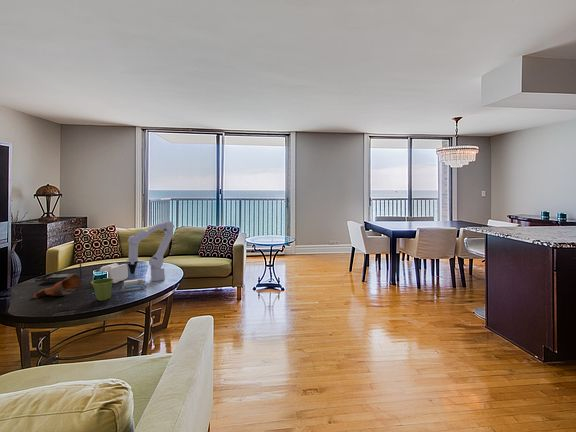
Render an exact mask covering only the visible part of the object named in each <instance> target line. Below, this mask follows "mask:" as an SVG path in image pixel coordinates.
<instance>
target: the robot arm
mask: <svg viewBox="0 0 576 432" xmlns="http://www.w3.org/2000/svg"><path fill="white" fill-rule="evenodd" d="M174 228H175V225H174V223H173V221H171V220H161V221H159V222H157V223H156V224H154V225H153V226H151V227H149V228H147V229H141V230H140V231H139V232H137V233H134V234H133V235H130V236H129V237H128V239H127V243H128V258H127V259H126V262H129V263H127V266H128V268H129V273H130V275H135V271H136V267H137V265H138V262H139V258H138V257H139V244H140V242H141V241H143V240H145V239H147V238H148V237H149V235H150V234H152V233H155V232H156V231H158V230H162V231H163V232H164V236H163V238H162V240H161V242H160V244H159V246H158V249H157V251H156V253H155V254H153V255H152V257H151V258H150V259H149V261H148V264H149V266H150V282H151V283H152V282H161V281H165V280H166V279H165V278H166V275H165V266H163V264H164V260H165V259H164V255H165V253H166V251H167V249H168V247H169V244H170V243H171V240H172V238H173V236H174Z"/></svg>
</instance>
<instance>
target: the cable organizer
mask: <svg viewBox="0 0 576 432" xmlns="http://www.w3.org/2000/svg"><path fill="white" fill-rule="evenodd" d="M128 268H129V266H128V263H123V264H119V263H118V262H117V263H111V264H108V265H104V266H101V267H100V268H99V273H100V272H102V271H107V272H108V278H112V279H114V280H113V283H112V284H116V283H119V282H124V281H126V279H128V278H129V271H128Z"/></svg>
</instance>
